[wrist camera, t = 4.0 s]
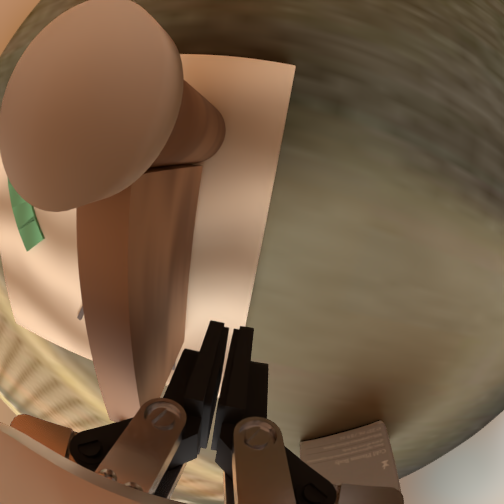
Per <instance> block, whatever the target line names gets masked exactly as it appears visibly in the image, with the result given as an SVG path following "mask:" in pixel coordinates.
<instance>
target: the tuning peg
mask: <svg viewBox="0 0 504 504" xmlns="http://www.w3.org/2000/svg"><path fill="white" fill-rule="evenodd" d="M183 78H184V75H183V67H182V61H181V58H180V54H179V51H178V49H177V47H176V45H175V43H174V41H173V40H172V38H171V37H170V36H169V34H168V33H167V32H166V31H165V30H164V29H163V28H162V27H161V26H160V25H159V24H158V22H157V21H156V20H155V19H154V18H153V17H152V16H151V15H150V14H149V13H148V12H147V11H146V10H145V9H143V8H142V7H141V6H140V5H138V4H136V3H134V2H132V1H130V0H89V1H86V2H84V3H81V4H78V5H76V6H74V7H72V8H71V9H69V10H67V11H65V12H64V13H62V14H61V15H59V16H58V17H57V18H55V19H54V20H53V21H52V22H50V23H49V24H48V25H47V26H46V27H45V28H44V29H43V30H42V31H41V32H40V33H39V34H38V35H37V36H36V37H35V38H34V40H33V41H32V42H31V43H30V45H29V46H28V47H27V49H26V50H25V52H24V53H23V55H22V56H21V58H20V60H19V61H18V63H17V65H16V67H15V69H14V71H13V73H12V75H11V77H10V80H9V82H8V85H7V88H6V91H5V94H4V98H3V102H2V107H1V112H0V153H1V158H2V162H3V166H4V169H5V172H6V174H7V177H8V179H9V181H10V183H11V184H12V186H13V187H14V189H15V190H16V192H17V193H18V194H19V195H20V196H21V197H22V198H23V199H24V200H25V201H26V202H28V203H29V204H30V205H32V206H34V207H36V208H38V209H41V210H44V211H50V212H62V211H68V210H71V209H74V208H76V229H77V255H78V269H79V280H80V289H81V298H82V305H83V312H84V318H85V324H86V330H87V335H88V340H89V345H90V350H91V355H92V359H93V363H94V367H95V371H96V375H97V379H98V383H99V386H100V390H101V393H102V397H103V400H104V403H105V406H106V409H107V412H108V415H109V418H110V420H112V421H114V422H119V421H123V420H126V419H129V418H133V417H134V416H135V415H136V413H137V412H138V410H139V409H140V407H141V406H142V405H143V404H144V403H145V402H147V401H149V400H151V399H155V398H160V396H161V394H162V391H163V389H164V387H165V384H166V382H167V380H168V377H169V375H170V373H171V370H172V368H173V366H174V363H175V361H176V359H177V357H178V354H179V352H180V350H181V347H182V345H183V343H184V339H185V322H186V307H187V294H188V282H189V271H190V261H191V252H192V242H193V234H194V225H195V217H196V209H197V202H198V195H199V188H200V181H201V174H202V168H203V166H201V165H193V163H200V162H203V161H205V160H207V159H209V158H211V157H212V156H213V155H214V154H215V153H216V152H217V151H218V150H219V149H220V147H221V145H222V143H223V141H224V138H225V132H226V129H225V122H224V119H223V117H222V115H221V113H220V112H219V111H218V109H217V108H215V107H214V106H213V105H212V104H211V103H210V102H209V101H208V100H207V99H206V98H204V97H203V96H202V95H201V94H200V93H199V92H198V91H197V90H195V89H194V88H193V87H192V86H191V85H190V84H189V83H187V82H186V81H185V80H184V79H183Z"/></svg>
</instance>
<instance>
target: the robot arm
mask: <svg viewBox="0 0 504 504" xmlns="http://www.w3.org/2000/svg"><path fill="white" fill-rule="evenodd" d="M224 324H225V323H222V322H217V321H212V320H211V321H210V323H209V326H208V329H207V331H206V334H205V337H204V340H203V343H202V346H201V348H200V351H195V350H191V349H186V348H185V349H184V350H183V352H182V354H181V357H180V359H179V361H178V364H177V366H176V368H175V371H174V373H173V376H172V378H171V380H170V383H169V385H168V388H167V390H166V392H165V395H164V397H163V398H155V399H151V400H149V401H147V402H145V403H144V404H143V405H142V406H141V407H140V409H139V410H138V412H137V413H136V415H135V416H134V417H133V418H129V419H126V420H123V421H119V422H116V423H112V424H109V425H105V426H101V427H98V428H94V429H90V430H86V431H82V432H80V433H78V432H74V431H73V430H72V429H71V428H67V427H64V426H60V425H57V424H54V423H51V422H48V421H45V420H42V419H39V418H36V417H33V416H31V415H27V414H21V415H18V416H17V417H15V418H14V419H13V421H12V422H11V424H10V426H8V425H6V424H3V423H1V422H0V504H186V503H182V502H178V501H174V500H170V497H171V495H172V493H173V491H174V489H175V487H176V485H177V483H178V481H179V479H180V477H181V475H182V472H183V470H184V468H185V466H186V463H187V462H188V461H191V460H193V459H195V458H197V454H199V452H200V448H206V447H207V443H208V438H209V434H210V429H211V424H212V420H213V415H214V411H215V406H216V401H217V397H218V392H219V388H220V383H221V378H222V372H223V365H224V359H225V352H226V346H227V340H228V333H229V327H224ZM253 332H254V328H250V327H244V326H240V328H239V329H233V334H232V339H231V344H230V348H229V353H228V358H227V362H226V367H225V372H224V377H223V381H222V386H221V391H220V396H219V401H218V406H217V412H216V419H215V426H214V432H213V439H212V446H211V450H216V451H217V454H216V459H215V462H216V463H217V464H218V465H219V466H220V467H221V468H222V470H223V484H224V504H404V500H403V495H402V494H401V492H400V491H399V490H397V489H396V488H392V487H380V486H364V485H353V484H344V483H341V484H340V485H336V484H332V483H331V482H330V481H329V480H327V479H326V478H324V477H323V476H322V475H320V474H319V473H318V472H316V471H315V470H314V469H312V468H311V467H310V466H308V465H307V464H306V463H305V462H303V461H302V460H301V459H300V458H298V457H297V456H296V455H295V454H293V453H292V452H291V451H290V450H289V449H287V448H286V447H285V446H284V442H283V437H282V433H281V431H280V428H279V427H278V426H277V425H276V424H275V423H274V422H272V421H271V420H268V419H267V395H268V364H265V363H258V362H252V361H251V351H252V341H253Z"/></svg>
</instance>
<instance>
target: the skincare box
mask: <svg viewBox="0 0 504 504" xmlns="http://www.w3.org/2000/svg"><path fill="white" fill-rule="evenodd" d="M300 459H301V460H302V461H303V462H305V463H306V464H307V465H308V466H310V467H311V468H312V469H314V470H315V471H316V472H318V473H319V474H320V475H322V476H323V477H324V478H326V479H327V480H329V481H330V482H331V483H332V484H336V485H340V484H341V483H344V484H353V485H364V486H380V487H392V488H396V489H397V490H399V491H400V492H401V489H400V484H399V479H398V474H397V470H396V465H395V461H394V457H393V452H392V448H391V444H390V440H389V437H388V433H387V429H386V426H385V424H384V423H383V422H382V421H377V422H374V423H372V424H369V425H366V426H363V427H360V428H356V429H353V430H350V431H346V432H343V433H339V434H335V435H331V436H328V437H324V438H319V439H314V440H310V441H303V442H300Z"/></svg>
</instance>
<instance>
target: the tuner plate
mask: <svg viewBox="0 0 504 504" xmlns="http://www.w3.org/2000/svg"><path fill="white" fill-rule="evenodd" d="M180 58H181V61H182V67H183V75H184V78H183V79H184V80H185V81H186V82H187V83H189V84H190V85H191V86H192V87H193V88H194V89H195V90H197V91H198V92H199V93H200V94H201V95H202V96H203V97H204V98H206V99H207V100H208V101H209V102H210V103H211V104H212V105H213V106H214V107H215V108H217V109H218V111H219V112H220V113H221V115H222V117H223V119H224V122H225V129H226V132H225V138H224V141H223V143H222V145H221V147H220V149H219V150H218V151H217V152H216V153H215V154H214V155H213V156H212V157H211V158H209V159H207V160H205V161H203V162H200V163H193V165H201V166H203V168H202V174H201V181H200V188H199V195H198V202H197V209H196V217H195V225H194V234H193V242H192V252H191V261H190V271H189V282H188V294H187V307H186V322H185V339H184V343H183V345H182V347H181V350H180V352H179V354H178V357H177V359H176V361H175V363H174V366H173V368H172V370H171V373H170V375H169V377H168V380H167V382H166V384H165V385H167V386H168V385H169V383H170V380H171V378H172V376H173V373H174V371H175V368H176V366H177V364H178V361H179V359H180V357H181V354H182V352H183V350H184V349H185V348H186V349H191V350H195V351H200V348H201V346H202V343H203V340H204V337H205V334H206V331H207V329H208V326H209V323H210V321H211V320H212V321H217V322H222V323H225V324H224V327H229V333H228V340H227V346H226V352H225V359H224V365H223V372H222V378H221V383H220V388H219V392H218V397H217V398H219V396H220V391H221V386H222V381H223V377H224V372H225V367H226V362H227V358H228V353H229V348H230V344H231V339H232V334H233V329H239V328H240V326H244V327H245V324H246V319H247V314H248V309H249V304H250V300H251V295H252V290H253V285H254V280H255V275H256V270H257V265H258V260H259V255H260V250H261V245H262V240H263V235H264V230H265V225H266V220H267V214H268V209H269V204H270V199H271V194H272V189H273V184H274V178H275V173H276V168H277V163H278V158H279V152H280V147H281V142H282V137H283V131H284V126H285V121H286V115H287V110H288V105H289V99H290V94H291V89H292V83H293V78H294V72H295V67H296V66H294V65H289V64H284V63H278V62H272V61H266V60H259V59H251V58H243V57H233V56H221V55H202V54H180ZM0 252H1V259H2V265H3V271H4V276H5V281H6V286H7V291H8V295H9V299H10V303H11V307H12V311H13V315H14V318H15V321H16V323H17V324H19V325H20V326H22V327H24V328H26V329H27V330H29V331H31V332H33V333H35V334H37V335H39V336H41V337H42V338H44V339H46V340H48V341H50V342H53V343H55V344H57V345H59V346H61V347H63V348H65V349H67V350H70V351H72V352H74V353H76V354H79V355H81V356H83V357H86V358H88V359H91V360H93V359H92V355H91V350H90V345H89V340H88V335H87V330H86V324H85V318H84V312H83V305H82V298H81V289H80V280H79V269H78V255H77V229H76V208H74V209H71V210H68V211H62V212H50V211H44V210H41V209H38V208H36V207H34V206H32V205H30V204H29V203H28V202H26V201H25V200H24V199H23V198H22V197H21V196H20V195H19V194H18V193H17V192H16V190H15V189H14V187H13V186H12V184H11V183H10V181H9V179H8V177H7V174H6V172H5V169H4V166H3V162H2V158H1V153H0Z"/></svg>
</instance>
